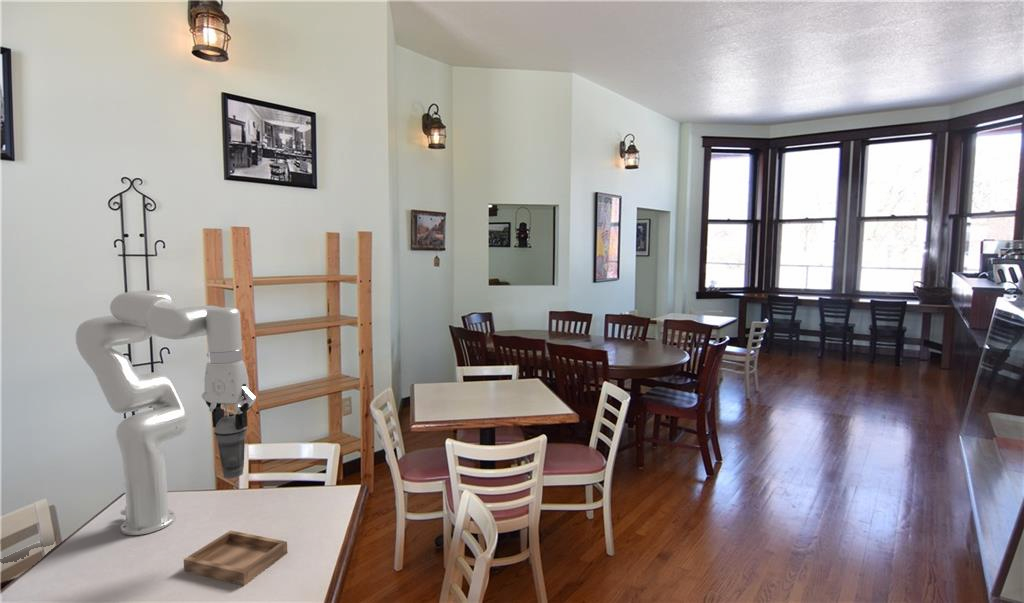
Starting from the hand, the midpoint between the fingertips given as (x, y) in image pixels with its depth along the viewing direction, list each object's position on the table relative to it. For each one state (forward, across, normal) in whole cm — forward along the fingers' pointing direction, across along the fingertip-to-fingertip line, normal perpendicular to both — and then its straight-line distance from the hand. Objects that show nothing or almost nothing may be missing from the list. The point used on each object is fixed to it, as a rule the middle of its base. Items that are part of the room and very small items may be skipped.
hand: (230, 426), depth 136 cm
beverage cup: (+13, 0, 0) cm, 13 cm away
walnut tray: (+32, +5, -5) cm, 33 cm away
